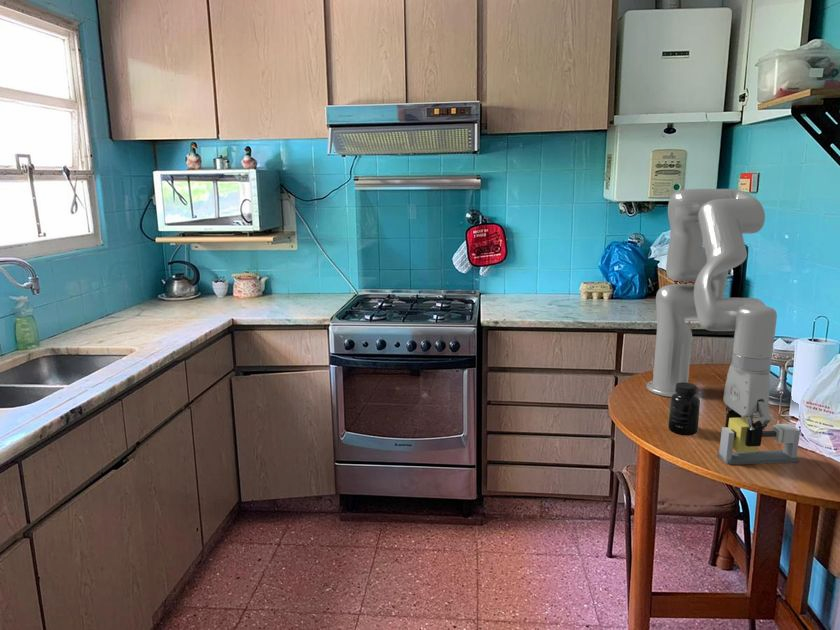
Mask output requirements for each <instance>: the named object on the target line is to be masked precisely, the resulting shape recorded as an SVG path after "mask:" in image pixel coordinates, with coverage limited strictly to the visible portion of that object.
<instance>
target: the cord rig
mask: <svg viewBox="0 0 840 630" xmlns="http://www.w3.org/2000/svg"><path fill="white" fill-rule="evenodd" d="M736 434H737V432H733V431H731V430H730V429H729V428H728V427H724V426H722V427H721V434H720V443H719V444H720V445H719V450H718V452H717V454H716V455H717V456H718V458H720V460H721V461H723V463H725V464H726V465H755V464H783V463H784V464H785V463H789V464H790V463H799V458H798V457H797V456H798V450H799V449H798V448H799V443H800V437H801V436H800V434H801V430H799V428H797V427H795V426H793V425H792V424H791V425H789V424H788V423H776V424H773V425H771V429H770V430H763V432H762V438H771V439H773V440H774V441H776V442H777V443H782V444H783V449H782V450H756V452H737V451H733V450H734V448H733V441H734V438H736Z"/></svg>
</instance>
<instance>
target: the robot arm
mask: <svg viewBox="0 0 840 630" xmlns="http://www.w3.org/2000/svg"><path fill="white" fill-rule="evenodd" d="M667 216H668V222H669V229H670V233H669V235H670V236H669V241H668V248H667V255H666V264H665V271H666V276H667V277H668V278H669V279H670V280H672V281H676V282H694V284H693V283H675V284H673V283H672V284H668V285H664V286H661V287H660V288H659V289H658V290H657V292H656V296H655V309H656V320H657V321H656V337H655V351H654V364H653V371H652V375H653V376H652V377H653V378H652V380H650V381H649V382H647V384H646V389H647V390H648V392H649V391H650V392H651V393H653V394H656V395H657V396H661V397H669V398H671V396H672V395H673V394H674V393H676V392H675V388H676V384H677V383H681V382H685V383H689V375H690V363H691V353H692V345H693V344H692V341H693V333H692V329H691V327H690V326H689V325H688V324H687V322H686V321H685V319H691V318H693V319H696V318H697V319H698V322H699V324H700V326H701V327H702V328H703V329H704V330H706V331H711V332H734V336H733V346H732V353H731V354H732V355H731V363H730V366H729V368H728V370H727V375H726V380H725V385H724V390H723V398H722V399H723V402H724V404H725V405H726V407H725V412H726V416H725V424H724V425H725V427H728V425H729V418H744V417H745V418H747V419H748V424H749V428H747V432H746V440H745V445H746V446H748V447H749V446H757V447H760V446H761V445H762V439H763V437H762V432H763V431H765V428H766V427H767V426H768V424H769V423H770V422H772V421H771V420H772V418H771V415H770V414H769V411H768V410H769V402H770V384H771V383H770V373H771V367H772V360H773V359H772V358H773V353H774V344H775V335H776V326H777V318H778V314H777V311H776V310H775V309H774V307H771V306H768V305H766V304H765V303H764V302H763V301H762V300H761V299H759V298H755V297H724V296H725V292H726V291H725V290H726V287H727V286H726V285H727V281H728V275H729V271H730V270H731V269H732V270H733V268H734V269H735V268H737V267H738V266H740V265H742V263H744V262H745V260H746V259H747V256H748V252H747V249H746V248H747V247H746V244H745V240H744V235H745V234H746V235H747V234H750V235H751V234H757V233H758V232H760V231H761V230H762V228H763V227H764V225H765V221H766V213H765V209H764V207H763V204H762V203H761V202H760V201H759V200H758V199H757V198H756V197H755V196H752V195H751V194H749V193H746V192H744V191H742V190H740V189H737V188H736V189H735V188H692V189H691V188H689V189H682V190H677V191H676V192H674V193H672V195H671V196H670V197H669V201H668V204H667ZM743 234H744V235H743ZM754 419H757V420H756V421H755V422H754Z"/></svg>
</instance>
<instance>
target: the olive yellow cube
mask: <svg viewBox="0 0 840 630" xmlns="http://www.w3.org/2000/svg"><path fill="white" fill-rule="evenodd" d="M728 428H729V429H730V430H731V431H733V432H737V434H736V438H734V441H733V450H735V452H756V451H758V450H757V448H758V446H749V447H748V446H746V445H745V440H746V432H747V428H749V424H748V419H747V418H745V417H741V418H729V425H728Z"/></svg>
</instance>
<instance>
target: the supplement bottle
mask: <svg viewBox="0 0 840 630" xmlns="http://www.w3.org/2000/svg"><path fill="white" fill-rule="evenodd" d="M697 388H698V387H697V385H696V384H694V383H691V382H688V383H685V382H681V383H677V384H676V388H675V392H676V393H674V394H673V395H672V396H671V397H669V398H670V399H669V411H668V430H669V431H670V432H671V433H673V434H676V435H679V436H685V437H686V436H687V437H688V436H693V435H695V434H697V433H698V431H699V419H700V418H699V417H700V408H701V407H700V406H701V399H700V398H699V397H698V395H697V393H698V391H697V390H698V389H697Z"/></svg>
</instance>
